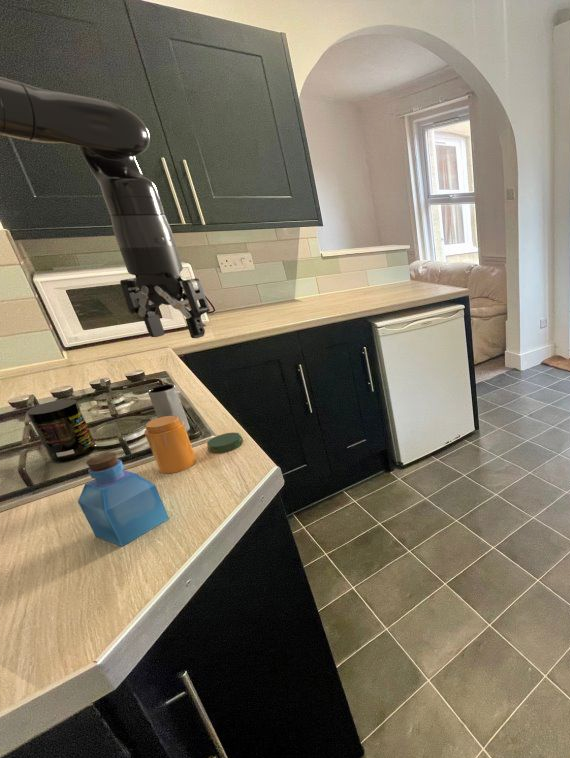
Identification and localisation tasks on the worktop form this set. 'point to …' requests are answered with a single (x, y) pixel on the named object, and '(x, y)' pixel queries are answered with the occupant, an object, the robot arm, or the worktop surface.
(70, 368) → the worktop surface
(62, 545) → the worktop surface
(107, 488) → the perfume bottle
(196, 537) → the worktop surface
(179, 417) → the planter
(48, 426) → the supplement container
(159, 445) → the jar
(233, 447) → the lid
